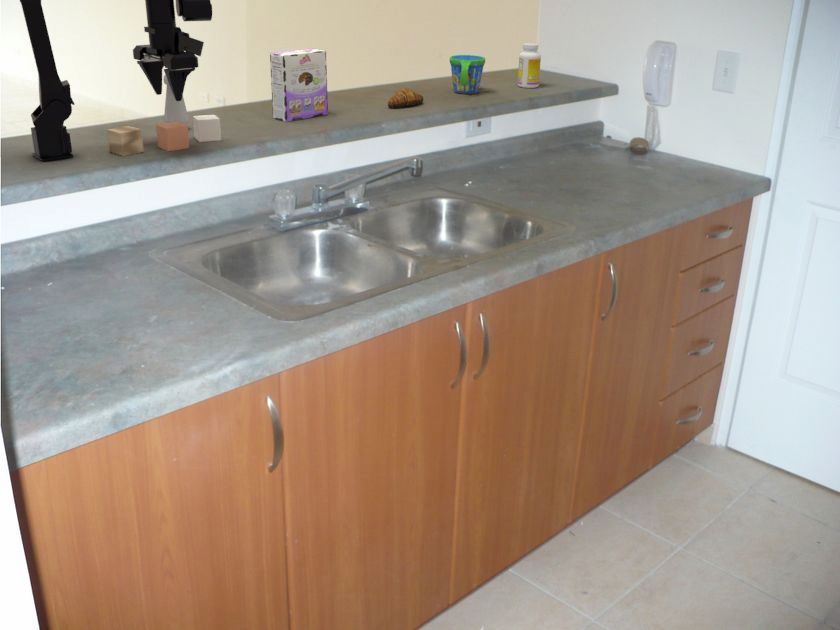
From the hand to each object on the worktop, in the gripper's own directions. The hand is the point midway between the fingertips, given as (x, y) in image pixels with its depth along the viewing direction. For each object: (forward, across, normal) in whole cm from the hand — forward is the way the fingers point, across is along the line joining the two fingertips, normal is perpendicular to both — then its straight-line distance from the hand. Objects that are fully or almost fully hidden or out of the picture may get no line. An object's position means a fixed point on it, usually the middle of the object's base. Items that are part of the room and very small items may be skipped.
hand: (168, 97), depth 191 cm
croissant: (+11, +7, -73) cm, 74 cm away
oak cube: (+11, +2, +10) cm, 15 cm away
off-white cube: (+11, +3, -10) cm, 15 cm away
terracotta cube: (+11, 0, 0) cm, 11 cm away
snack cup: (+11, +12, -101) cm, 102 cm away
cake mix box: (+11, +11, -41) cm, 44 cm away
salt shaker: (+11, +16, -9) cm, 21 cm away
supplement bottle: (+11, +8, -124) cm, 125 cm away
